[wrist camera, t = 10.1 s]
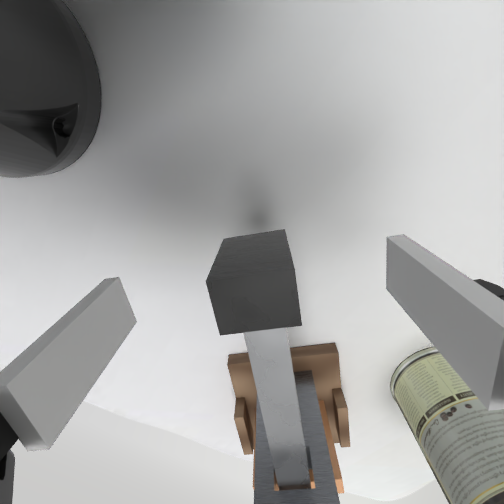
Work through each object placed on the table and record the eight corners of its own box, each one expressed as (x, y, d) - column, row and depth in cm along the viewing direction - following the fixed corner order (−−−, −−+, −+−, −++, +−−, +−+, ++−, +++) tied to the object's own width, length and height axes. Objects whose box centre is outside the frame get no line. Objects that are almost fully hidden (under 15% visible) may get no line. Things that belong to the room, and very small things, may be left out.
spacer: (255, 408, 32) (252, 487, 25) (323, 400, 32) (342, 479, 24) (258, 420, 33) (257, 500, 26) (325, 412, 32) (344, 492, 25)
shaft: (223, 238, 18) (205, 281, 12) (284, 229, 18) (294, 268, 12) (268, 440, 25) (270, 526, 19) (313, 437, 24) (328, 523, 19)
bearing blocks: (257, 375, 31) (252, 537, 18) (311, 370, 30) (346, 532, 17) (273, 447, 35) (278, 618, 22) (320, 444, 34) (354, 617, 22)
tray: (228, 354, 32) (224, 382, 28) (334, 342, 30) (344, 370, 27) (250, 437, 36) (248, 471, 33) (342, 430, 35) (351, 464, 32)
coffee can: (500, 353, 30) (684, 514, 17) (458, 418, 34) (581, 592, 21) (409, 337, 30) (523, 489, 17) (376, 405, 34) (449, 572, 20)
